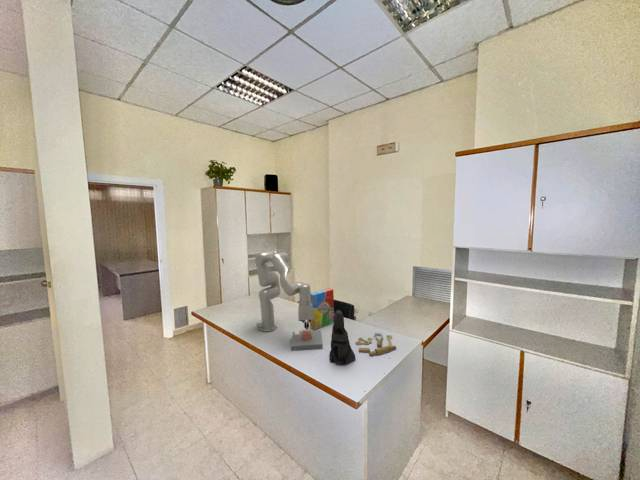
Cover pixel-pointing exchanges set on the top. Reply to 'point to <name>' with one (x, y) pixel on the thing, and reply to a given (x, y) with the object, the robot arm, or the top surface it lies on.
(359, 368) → the top surface
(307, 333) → the pink block
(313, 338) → the socket
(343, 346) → the black tall figure
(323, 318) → the game box
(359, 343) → the toy baking set
